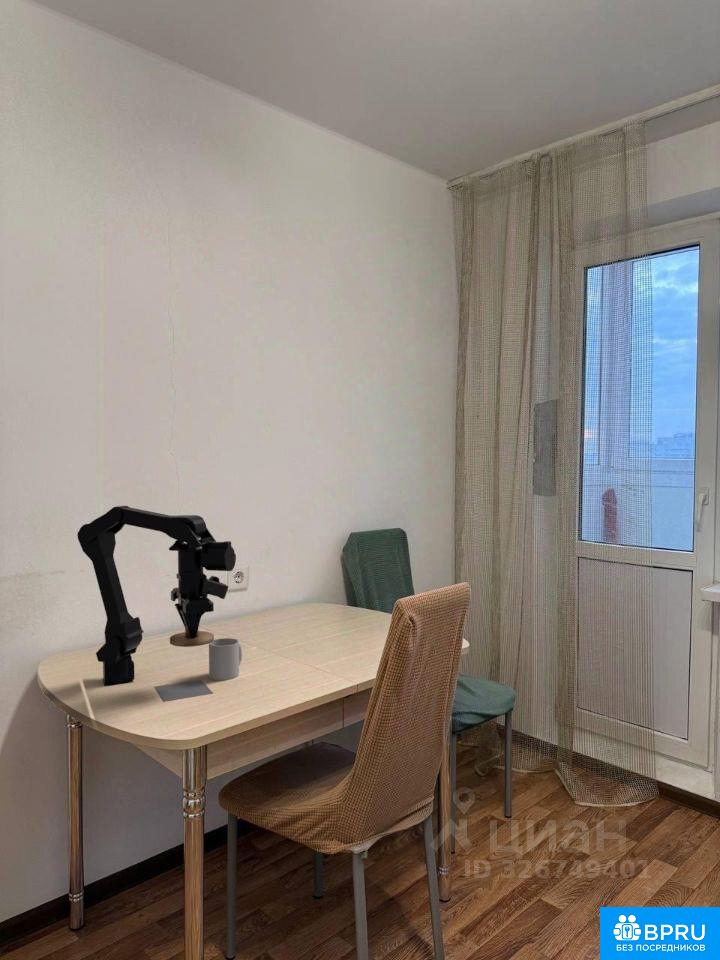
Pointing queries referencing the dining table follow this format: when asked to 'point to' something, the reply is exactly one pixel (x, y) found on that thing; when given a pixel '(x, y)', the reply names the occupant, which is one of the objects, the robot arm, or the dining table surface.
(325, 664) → the dining table surface
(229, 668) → the cup
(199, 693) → the mat
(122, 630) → the robot arm
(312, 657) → the dining table surface
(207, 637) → the lid
